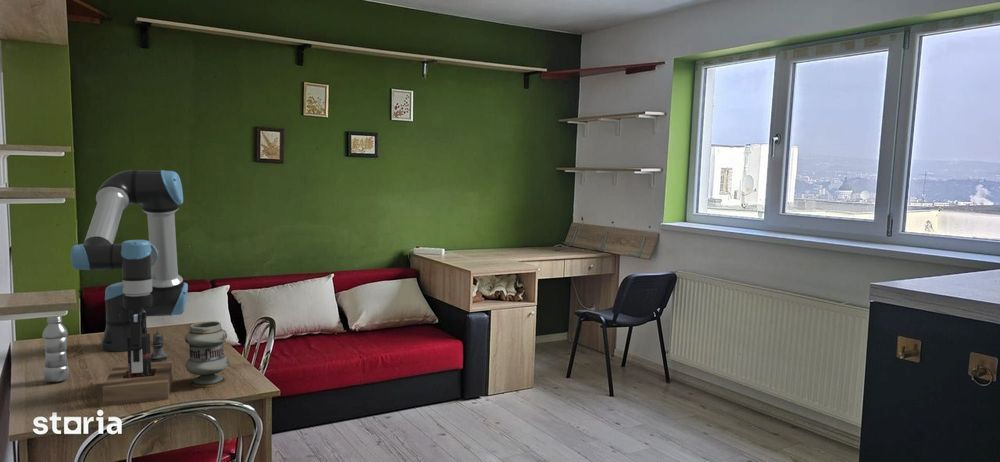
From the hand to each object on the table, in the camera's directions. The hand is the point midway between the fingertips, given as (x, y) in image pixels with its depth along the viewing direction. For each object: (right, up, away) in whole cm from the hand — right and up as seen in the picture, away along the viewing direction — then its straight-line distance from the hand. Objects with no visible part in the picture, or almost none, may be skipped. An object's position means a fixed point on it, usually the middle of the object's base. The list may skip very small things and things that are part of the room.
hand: (139, 366), depth 199 cm
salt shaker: (-6, -5, +24) cm, 25 cm away
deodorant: (0, -6, +1) cm, 6 cm away
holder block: (0, -7, +1) cm, 7 cm away
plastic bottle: (-29, -6, +7) cm, 30 cm away
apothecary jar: (+16, -7, +9) cm, 20 cm away
